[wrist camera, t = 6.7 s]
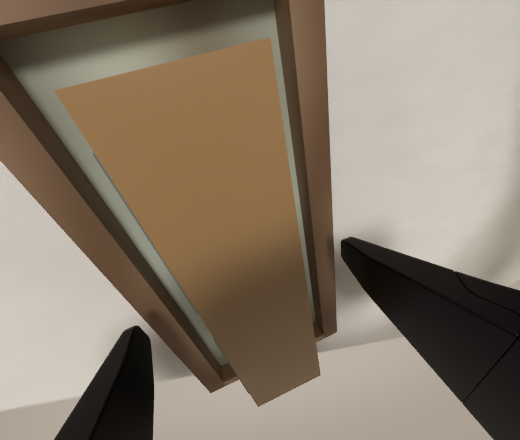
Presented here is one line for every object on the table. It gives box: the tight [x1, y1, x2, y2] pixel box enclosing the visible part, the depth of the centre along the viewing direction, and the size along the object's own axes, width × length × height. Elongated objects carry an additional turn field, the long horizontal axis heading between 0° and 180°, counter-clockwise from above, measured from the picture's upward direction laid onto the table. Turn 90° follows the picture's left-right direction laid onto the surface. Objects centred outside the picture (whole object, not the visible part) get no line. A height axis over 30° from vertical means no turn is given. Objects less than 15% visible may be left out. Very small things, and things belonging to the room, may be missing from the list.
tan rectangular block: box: [54, 37, 320, 407], centre depth 9 cm, size 4×14×4 cm, turn 14°
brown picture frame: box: [0, 0, 337, 393], centre depth 11 cm, size 9×18×3 cm, turn 14°
